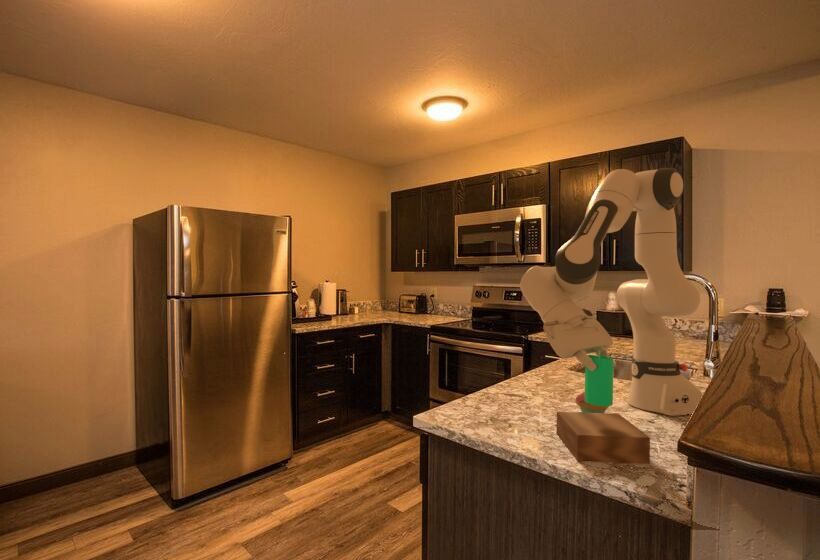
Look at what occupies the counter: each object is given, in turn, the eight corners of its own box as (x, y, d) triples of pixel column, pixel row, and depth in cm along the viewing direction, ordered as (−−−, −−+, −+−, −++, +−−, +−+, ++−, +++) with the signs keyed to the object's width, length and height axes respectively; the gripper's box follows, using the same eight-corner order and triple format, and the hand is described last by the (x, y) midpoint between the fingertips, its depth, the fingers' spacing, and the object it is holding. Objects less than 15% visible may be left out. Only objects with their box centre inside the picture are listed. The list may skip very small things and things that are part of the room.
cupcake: (615, 422, 112) (616, 378, 112) (589, 424, 110) (590, 380, 109) (593, 411, 120) (594, 371, 120) (568, 414, 118) (569, 372, 118)
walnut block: (617, 437, 102) (618, 413, 102) (649, 465, 87) (650, 437, 87) (556, 435, 103) (556, 411, 103) (577, 462, 88) (577, 434, 88)
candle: (615, 407, 91) (616, 353, 91) (586, 405, 93) (587, 352, 93) (609, 399, 97) (610, 349, 97) (582, 397, 99) (583, 347, 98)
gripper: (548, 314, 94) (588, 365, 86) (594, 310, 106) (633, 354, 99) (531, 331, 97) (568, 381, 90) (578, 326, 110) (614, 369, 102)
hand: (602, 367), depth 94 cm, fingers closed on candle, 5 cm apart
